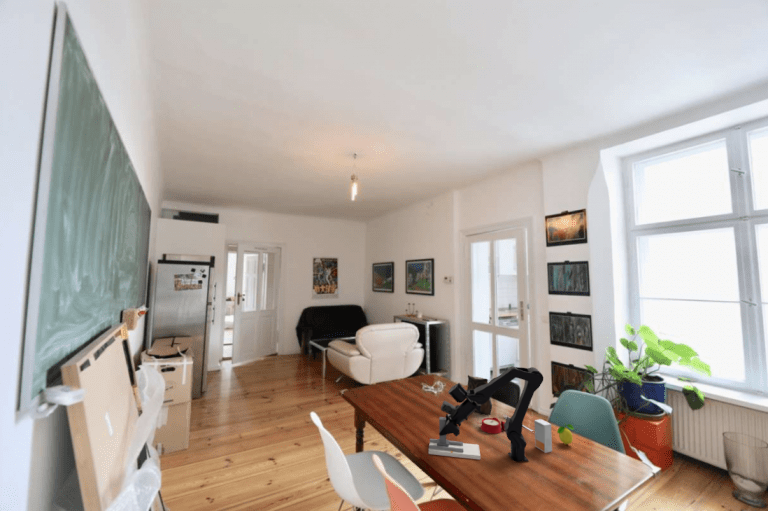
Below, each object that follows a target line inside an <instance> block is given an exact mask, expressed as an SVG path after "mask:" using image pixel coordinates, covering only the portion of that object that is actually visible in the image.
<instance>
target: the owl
mask: <svg viewBox="0 0 768 511" xmlns="http://www.w3.org/2000/svg"><path fill="white" fill-rule="evenodd" d="M467 378H468V379H467V388H466V390H473V389H475V388H477V387H479V386H481V385H485V384H488V383H489V379H487V378H484V377H479V376H473V375H469V374H468V375H467ZM477 404H478V403H477ZM480 405H481V404H480ZM492 409H493V404H492V397H491V398H490V399H489V400H488V401H487V402H486V403H485V404H483V405H481V412H478V410H477V409H476V410H475V411H474V412H473V413H475V414H480V415H483V416H487V415H489V416H491V415H492Z"/></svg>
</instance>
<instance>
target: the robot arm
mask: <svg viewBox="0 0 768 511" xmlns="http://www.w3.org/2000/svg"><path fill="white" fill-rule="evenodd" d="M515 379H520V380H523V381H524V386H523V389H522V391H521V393H520V395H519V396H520V397H519V399H518V402H517V404H516V406H515V409H514V412H513V414H512V416H508V417H507V418H506V417H505V421H504V422H505V423H504V429H505V431H504V432H505V435H506V437H507V439H508V441H510V452H507V456H509V458H510V459H511V460H512V461H513V462H529V459H528V458H527V456H526V449H525V448H526V446H527V444H528V443H527V441H526V439H525V437H524V435H523V426H522V425H523V422H524V419H525V417H526V414H527V412H528V409H529V407H530V405H531V401H532V399H533V396H534V393H535V392H536V391H537V390H538V389H539V388H540V387H541V385H542V383H543V382H544V376H543V374H542V372H541V371H540V370H538V368H536V367H518V366H514V365H513V366H510V367H509V368H508V369H507V370H505V371H504V372H502V373H501V374H499V375H498V376H497V377H495V378H494V379H492V380H491V381H490V382H489V381H488V384H485V385H481V386H479V387H477V388H475V389H473V390H467V389H465V387H463V385H462V384H461V383H460V382H457V383H456V384H454V385H452V387H450V388H449V389H448V395H450V396H451V398H452V399H453V400H455V402H456V403H459V404H457V405H453V404H452V403H450V402H448V401H446V400H443V402H442V404H441V406H440V410H441V412H444V413H445V417H446V422H445V423H446V425H445V426H444V427H443V429H442V430H441V431H440V433H438V435H440V436H442V435H446V436H447V435H450V434H453V435H454V437H455V438H457V437H458V436H459V435H460V427H461V426H462V423H463V422H464V421H467V420H468V419H469V418H468V417H469V416H471V415H472V414H473V413H475V412H474V411H475V410H476V409H477V410H478V412H481V405H483V404H485V403H486V402H487V401H488V400H489V399H490V398H491V399H492V396H493V395H494V394H495V393H496V392H497V391H499V390H500V389H501V388H503V387H505V386H506V385H508V384H509V383H510V382H511V381H513V380H515ZM477 403H478V404H477ZM480 404H481V405H480ZM504 429H503V430H504Z"/></svg>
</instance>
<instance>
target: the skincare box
mask: <svg viewBox="0 0 768 511" xmlns="http://www.w3.org/2000/svg"><path fill="white" fill-rule="evenodd" d="M533 424H534V431H535V433H534V447H535V448H537V449H538V450H540V451H542V452H544V453H545V454H546V453H551V452H553V443H552V442H553V439H552V438H553V437H552V424H551V423H549V422H548V421H546V420H544V419H542V418H539V419H535V420H534V422H533Z"/></svg>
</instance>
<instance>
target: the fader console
mask: <svg viewBox="0 0 768 511" xmlns="http://www.w3.org/2000/svg"><path fill="white" fill-rule="evenodd" d="M437 439H438V438H437ZM437 439H436V438H429V445H428V455H435V456H436V455H437V456H443V457H454V458H461V459H462V458H463V459H470V460H471V459H472V460H479V461H480V460H481V452H480V445H479V444H476V443H475V444H474V443H464V441H455V440H449V447H445V446H437Z"/></svg>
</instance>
